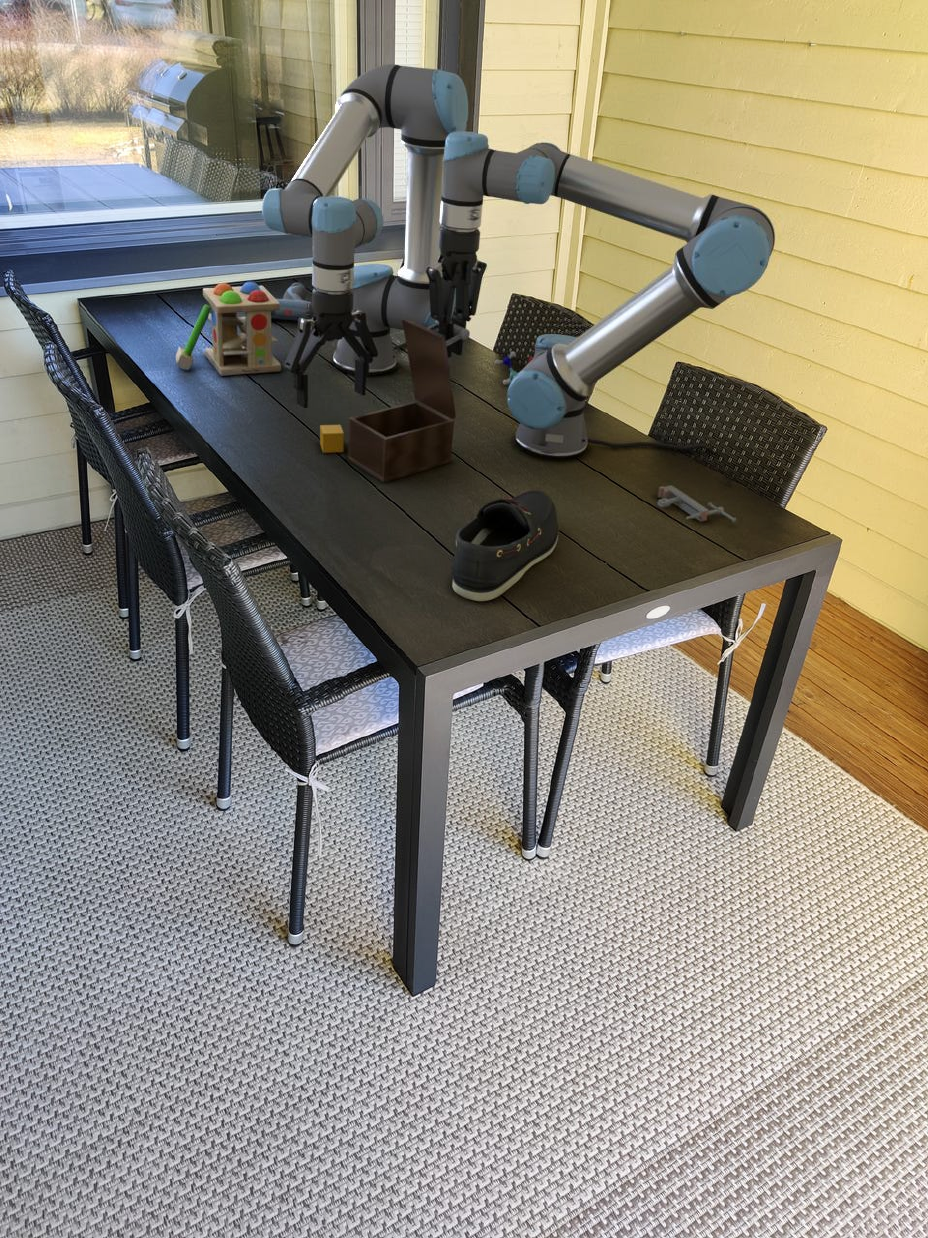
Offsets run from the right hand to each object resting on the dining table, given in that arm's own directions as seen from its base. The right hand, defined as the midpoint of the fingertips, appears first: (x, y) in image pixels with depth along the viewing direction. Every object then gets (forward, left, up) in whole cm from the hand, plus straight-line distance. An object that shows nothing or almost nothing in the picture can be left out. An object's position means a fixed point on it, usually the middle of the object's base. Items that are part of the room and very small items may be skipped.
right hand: (450, 353), depth 191 cm
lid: (+5, +2, -2) cm, 6 cm away
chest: (+11, +3, -20) cm, 23 cm away
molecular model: (-30, -28, -20) cm, 46 cm away
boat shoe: (+6, +43, -20) cm, 48 cm away
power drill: (+4, -90, -20) cm, 92 cm away
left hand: (+22, -5, -10) cm, 25 cm away
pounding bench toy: (+33, -55, -20) cm, 67 cm away
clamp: (-36, +38, -20) cm, 56 cm away
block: (+22, -6, -20) cm, 30 cm away
